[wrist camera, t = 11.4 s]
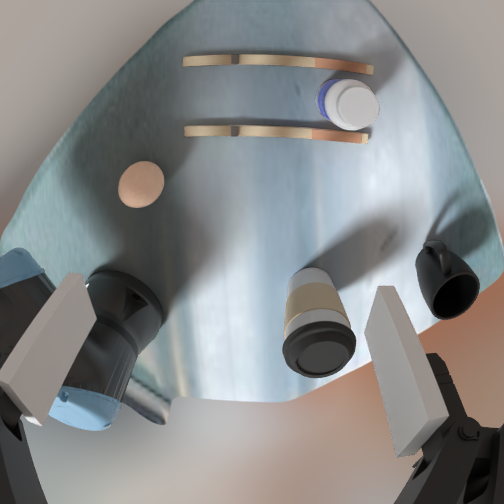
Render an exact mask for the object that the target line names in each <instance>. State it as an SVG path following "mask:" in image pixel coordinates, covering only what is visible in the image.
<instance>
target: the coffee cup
mask: <svg viewBox="0 0 504 504" xmlns="http://www.w3.org/2000/svg"><path fill="white" fill-rule="evenodd" d="M284 339H285V341H284V344H283V349H282V351H283V355H284V358H285V361H286V363H287V365H288V366H289V367H290V368H291V369H292V370H293V371H295V372H297V373H299V374H301V375H303V376H305V377H309V378H322V377H327V376H330V375H333V374H335V373H337V372H338V371H340V370H341V369H342V368H343V367H344V366H345V365H346V364H347V363H348V362H349V360H350V359H351V358H352V356H353V354H354V352H355V347H356V337H355V335H354V333H353V331H352V330H351V325H350V322H349V319H348V317H347V314H346V312H345V309H344V307H343V304H342V302H341V299H340V297H339V294H338V292H337V291H336V290H335V287H334V285H333V282H332V280H331V278H330V276H329V274H328V273H327V272H325V271H324V270H322V269H319V268H306V269H302V270H300V271H298V272H297V273H295V274H294V275H293V276H292V277H291V279H290V281H289V283H288V290H287V302H286V312H285V326H284Z"/></svg>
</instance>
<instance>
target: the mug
mask: <svg viewBox="0 0 504 504" xmlns="http://www.w3.org/2000/svg"><path fill="white" fill-rule="evenodd" d="M415 265H416V270H417V276H418V282H419V286H420V289H421V292H422V295H423V297H424V299H425V301H426V303H427V305H428V307H429V309H430V311H431V312H432V314H433V315H434V316H435V317H437V318H438V319H442V320H448V319H452V318H455V317H457V316H459V315H461V314H462V313H464V312H465V311H466V310H468V309H469V308H470V307H471V305H472V304H473V303H474V301H475V300H476V298H477V296H478V293H479V289H480V283H479V279H478V277H477V276H476V274H475V273H474V272H473V270H472V269H471V268H470V267H469V266H468V264H467V263H466V262H465V261H464V260H462V259H461V258H460V257H458V256H457V255H456V254H454V253H453V252H451V251H449V250H447V248H446V246H445V245H444V244H443V243H442V242H441V241H439V240H429V241H426V242H425V243H424V244H423V250H422V251H421V252H420V253H419V254H418V256H417V259H416V264H415Z"/></svg>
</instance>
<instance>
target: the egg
mask: <svg viewBox="0 0 504 504" xmlns="http://www.w3.org/2000/svg"><path fill="white" fill-rule="evenodd" d="M163 187H164V175H163V172H162V171H161V169H160V168H159V167H158V166H157V165H156V164H154V163H152V162H149V161H141V162H137V163H135V164H133V165H131V166H130V167H129V168H128V169H126V170H125V172H124V173H123V174H122V176H121V178H120V181H119V186H118V193H119V197H120V199H121V200H122V202H123V203H124V204H125V205H127V206H129V207H133V208H140V207H145V206H148V205H150V204H151V203H153V202H154V201H155V200H156V199H157V198H158V197H159V195H160V194H161V192H162V190H163Z"/></svg>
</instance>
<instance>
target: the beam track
mask: <svg viewBox="0 0 504 504" xmlns="http://www.w3.org/2000/svg"><path fill="white" fill-rule="evenodd" d="M205 65H281V66H298V67H311V68H322V69H332V70H340V71H348V72H355V73H362V74H369V75H373V72H374V65H368V64H363V63H356V62H349V61H342V60H334V59H325V58H313V57H300V56H284V55H253V54H231V55H204V56H188V57H183V66H184V67H187V66H205ZM184 128H185V136H266V137H290V138H308V139H316V140H329V141H340V142H351V143H364V144H368V134H367V133H362V132H353V131H343V130H333V129H321V128H308V127H291V126H268V125H191V126H185V127H184Z"/></svg>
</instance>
